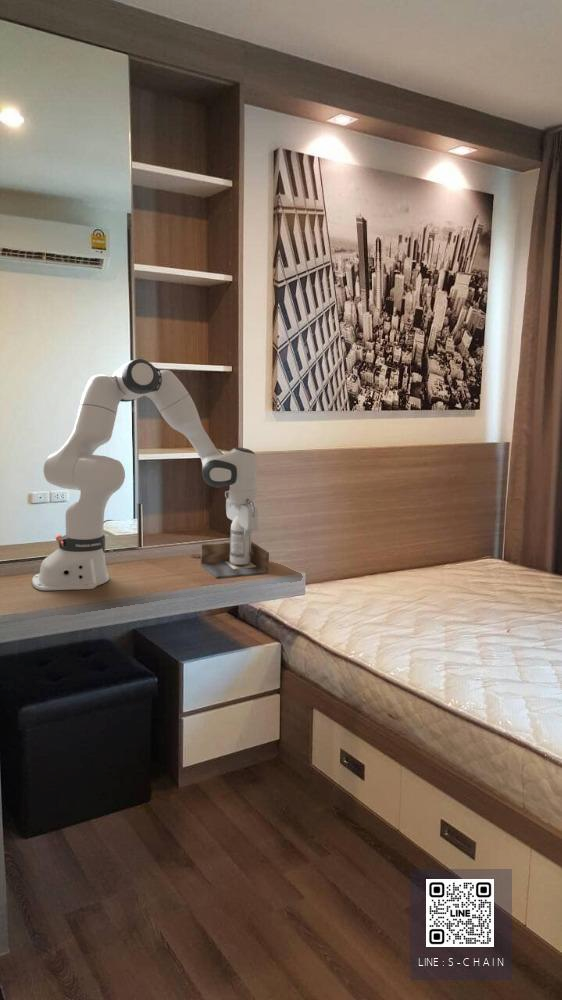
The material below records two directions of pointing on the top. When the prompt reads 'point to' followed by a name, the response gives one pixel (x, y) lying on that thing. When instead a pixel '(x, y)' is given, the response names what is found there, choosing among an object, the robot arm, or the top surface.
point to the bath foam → (239, 544)
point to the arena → (220, 566)
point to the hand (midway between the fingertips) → (241, 537)
